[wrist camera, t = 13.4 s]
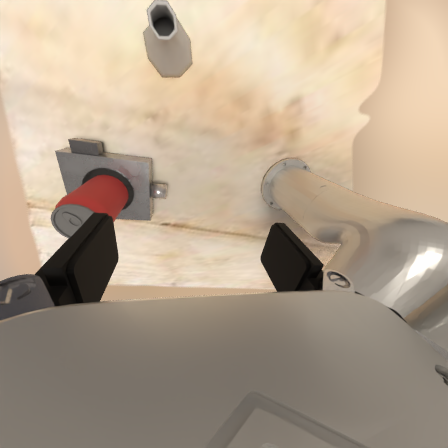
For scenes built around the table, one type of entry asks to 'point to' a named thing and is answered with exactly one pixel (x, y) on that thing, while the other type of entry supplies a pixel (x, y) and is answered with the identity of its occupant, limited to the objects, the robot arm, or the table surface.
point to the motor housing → (113, 166)
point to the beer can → (89, 203)
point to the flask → (166, 41)
